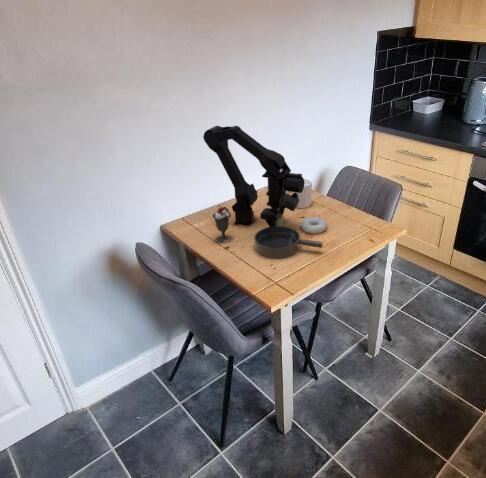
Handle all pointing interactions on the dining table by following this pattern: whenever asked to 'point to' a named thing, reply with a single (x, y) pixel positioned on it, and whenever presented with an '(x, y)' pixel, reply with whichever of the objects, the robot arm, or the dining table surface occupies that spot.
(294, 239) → the black frying pan
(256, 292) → the dining table surface
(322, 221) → the donut
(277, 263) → the dining table surface
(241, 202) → the robot arm
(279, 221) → the spice jar
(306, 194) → the cup
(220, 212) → the sundae
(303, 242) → the handle
